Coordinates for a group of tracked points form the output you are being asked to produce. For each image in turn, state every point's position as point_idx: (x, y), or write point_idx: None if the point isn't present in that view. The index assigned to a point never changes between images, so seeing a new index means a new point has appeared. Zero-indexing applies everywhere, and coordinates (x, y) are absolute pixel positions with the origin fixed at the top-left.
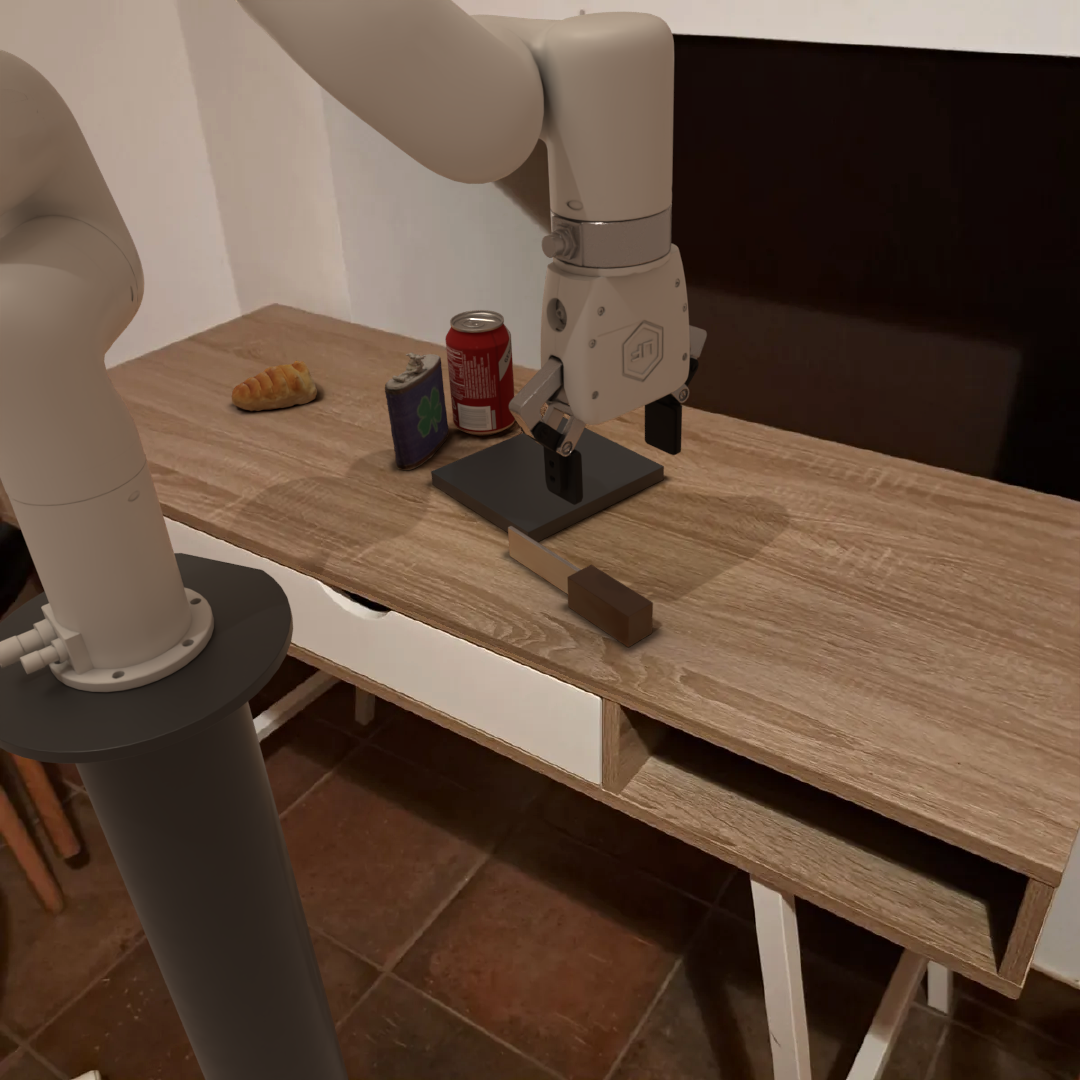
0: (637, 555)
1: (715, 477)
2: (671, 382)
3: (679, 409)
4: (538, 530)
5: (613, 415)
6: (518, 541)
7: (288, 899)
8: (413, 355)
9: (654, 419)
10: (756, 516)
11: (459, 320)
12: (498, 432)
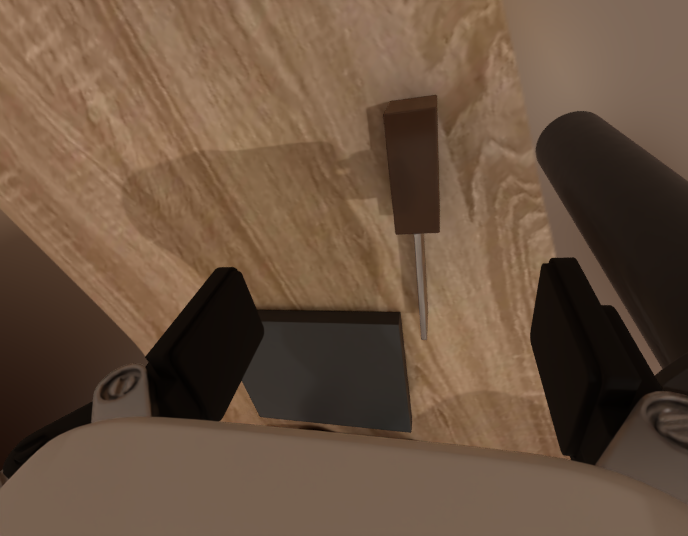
0: (311, 234)
1: (169, 282)
2: (114, 468)
3: (159, 350)
4: (384, 321)
5: (517, 478)
6: (426, 318)
7: (616, 195)
8: None
9: (228, 362)
10: (157, 209)
11: None
12: (316, 430)
